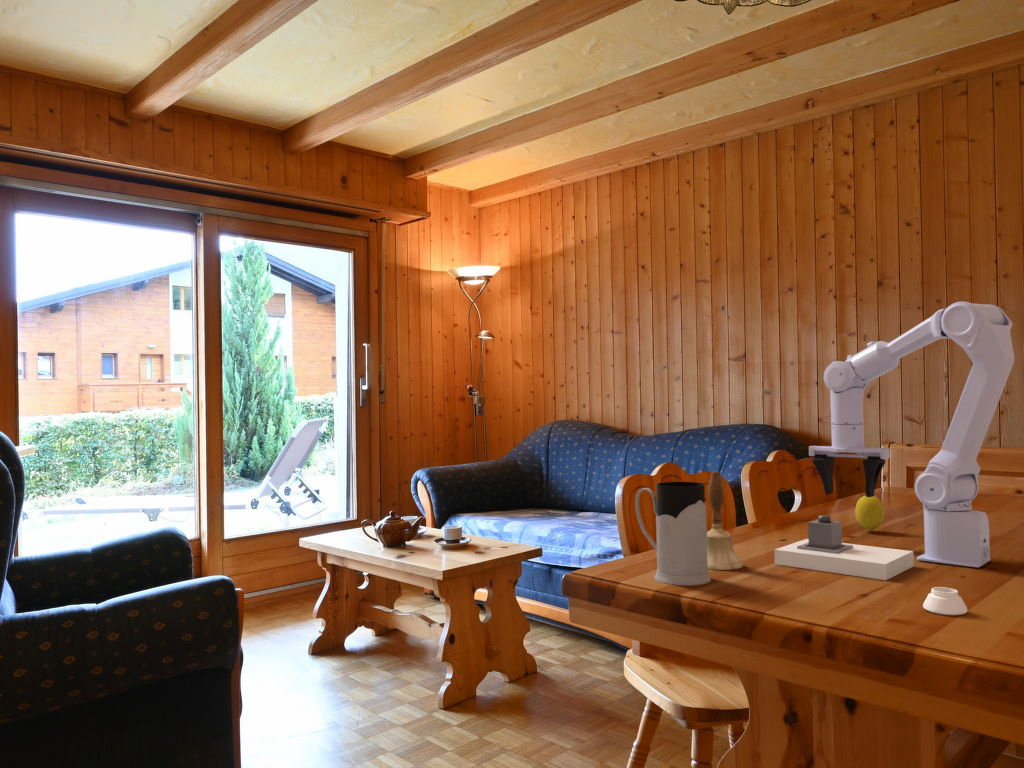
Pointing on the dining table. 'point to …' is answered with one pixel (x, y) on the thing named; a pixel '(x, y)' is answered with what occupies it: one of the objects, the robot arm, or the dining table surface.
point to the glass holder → (679, 532)
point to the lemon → (869, 512)
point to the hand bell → (719, 532)
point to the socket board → (846, 559)
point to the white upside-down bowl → (945, 602)
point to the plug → (825, 533)
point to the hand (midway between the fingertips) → (849, 495)
